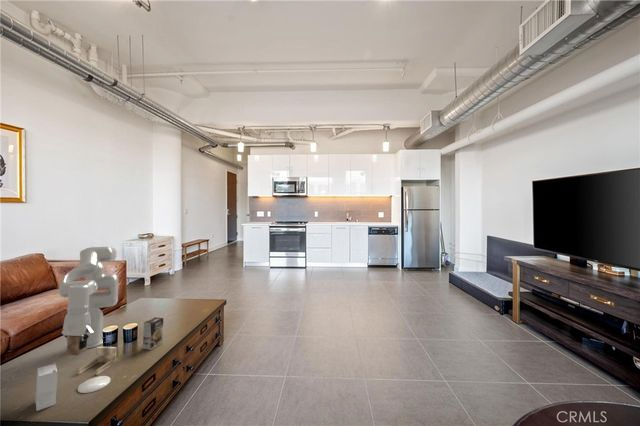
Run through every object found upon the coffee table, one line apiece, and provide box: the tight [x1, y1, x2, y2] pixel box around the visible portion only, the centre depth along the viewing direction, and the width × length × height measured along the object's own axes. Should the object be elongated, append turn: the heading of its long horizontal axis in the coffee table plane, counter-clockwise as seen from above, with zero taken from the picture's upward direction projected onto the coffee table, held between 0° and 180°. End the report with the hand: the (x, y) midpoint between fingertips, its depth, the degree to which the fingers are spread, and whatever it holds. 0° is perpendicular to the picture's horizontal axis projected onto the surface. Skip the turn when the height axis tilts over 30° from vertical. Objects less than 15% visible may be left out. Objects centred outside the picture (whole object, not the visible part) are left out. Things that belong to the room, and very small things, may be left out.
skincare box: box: [34, 363, 59, 412], centre depth 115 cm, size 8×6×15 cm
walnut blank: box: [66, 335, 88, 356], centre depth 129 cm, size 5×5×9 cm
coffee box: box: [142, 316, 164, 351], centre depth 166 cm, size 9×6×16 cm
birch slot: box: [77, 346, 118, 376], centre depth 142 cm, size 10×12×8 cm
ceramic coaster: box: [77, 375, 111, 394], centre depth 128 cm, size 12×12×1 cm
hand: (77, 347), depth 129 cm, fingers closed on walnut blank, 5 cm apart
